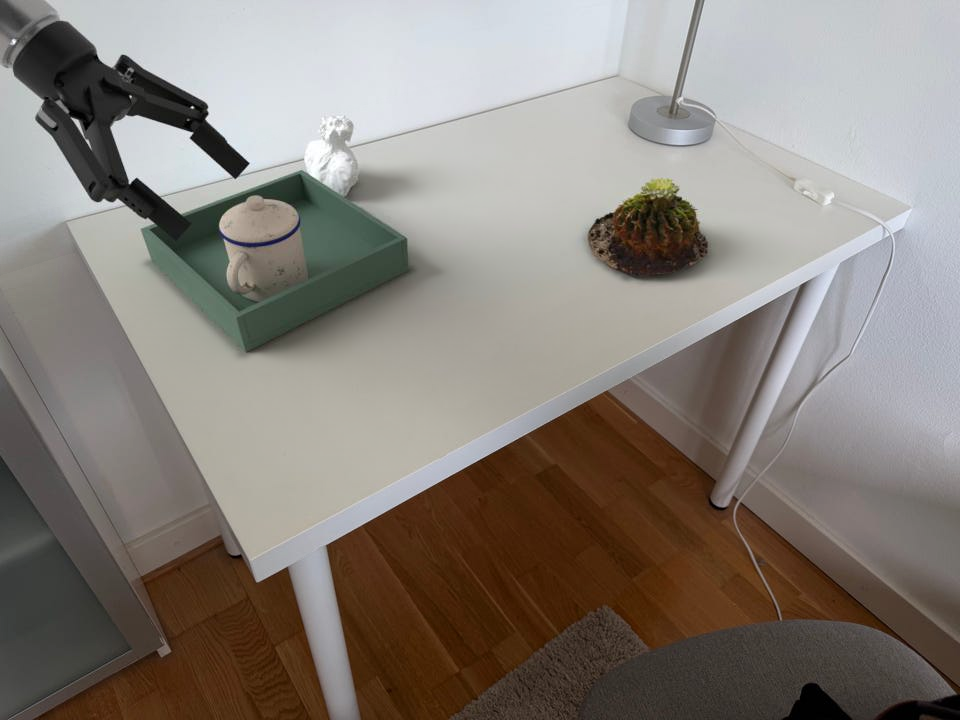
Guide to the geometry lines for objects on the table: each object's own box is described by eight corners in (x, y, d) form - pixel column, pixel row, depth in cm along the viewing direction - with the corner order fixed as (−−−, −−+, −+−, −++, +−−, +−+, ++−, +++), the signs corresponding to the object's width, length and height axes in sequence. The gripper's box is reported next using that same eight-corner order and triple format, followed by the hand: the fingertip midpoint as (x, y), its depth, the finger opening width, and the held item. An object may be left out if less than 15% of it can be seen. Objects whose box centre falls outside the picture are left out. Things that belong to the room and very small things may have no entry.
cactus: (635, 201, 104) (647, 140, 97) (729, 245, 96) (750, 181, 89) (561, 245, 94) (570, 180, 88) (658, 297, 86) (676, 230, 80)
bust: (361, 212, 104) (394, 143, 101) (322, 197, 97) (357, 123, 95) (318, 182, 110) (348, 116, 107) (279, 166, 104) (311, 96, 101)
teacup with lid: (259, 256, 89) (240, 173, 81) (323, 269, 87) (310, 186, 79) (206, 311, 80) (179, 225, 73) (276, 327, 79) (256, 241, 71)
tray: (245, 352, 77) (236, 318, 74) (152, 261, 89) (140, 228, 86) (408, 270, 89) (407, 237, 86) (306, 200, 101) (301, 169, 98)
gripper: (97, 31, 79) (247, 167, 87) (-72, 120, 61) (137, 281, 69) (125, -16, 74) (279, 132, 83) (-49, 64, 56) (171, 243, 65)
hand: (215, 200), depth 76 cm, fingers open, 13 cm apart
